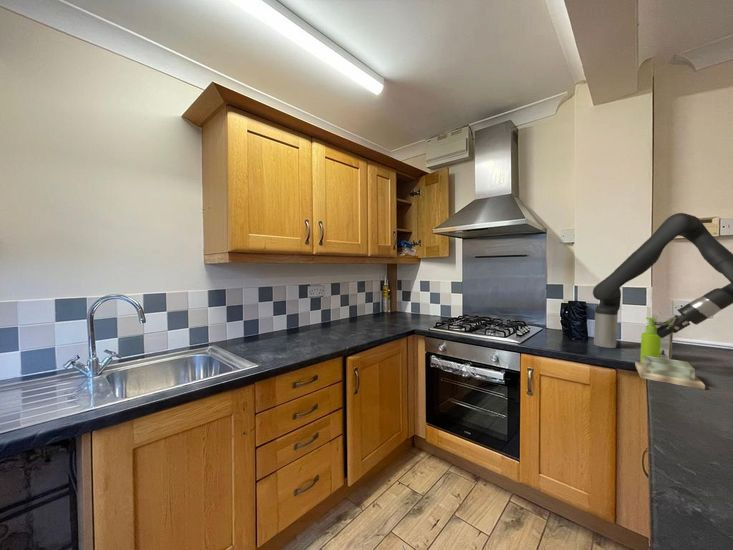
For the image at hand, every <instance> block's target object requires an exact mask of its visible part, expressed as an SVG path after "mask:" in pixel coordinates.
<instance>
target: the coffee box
mask: <svg viewBox="0 0 733 550" xmlns="http://www.w3.org/2000/svg"><path fill="white" fill-rule="evenodd" d="M662 323H663V322H662V321H654V326H656V327H657V328H658V327H660V326H662ZM673 335H674V333H671V334H669V335H667V336H666V337H664V338H661V342H660V358H665V359H672V358H673V340H674V339H673Z"/></svg>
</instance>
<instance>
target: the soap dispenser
mask: <svg viewBox="0 0 733 550" xmlns="http://www.w3.org/2000/svg"><path fill="white" fill-rule="evenodd" d="M645 319H646V320H648V324H646V325H645V332H641V339H640V340H641V341H640V357H639V359H640V361H639V363H642V357H643V355H644V356H651V357H658V358H660V342H661V337H659V336H658V335H657V327H656V326H654V322H657V319H656V318H655V317H647V316H646V317H645Z"/></svg>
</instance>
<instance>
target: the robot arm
mask: <svg viewBox="0 0 733 550" xmlns="http://www.w3.org/2000/svg"><path fill="white" fill-rule="evenodd" d="M677 237H683V238H684V239H686V240H687V241H689V242H690V243H691V244H692V245H694V247H696V248H697V250H698V251H699V254H700V255H701V257H702V258H703V259H704V261H706V262H707V263H708V264H709V265H710V266H711V267H712V268H713V269H714V270H715V271H716V272H718V273H720V274H722V275H723V277H725V278H726V279H727V280H728V281H729V283H728V284H727V285H725V286H723V287H721V288H720V287H718V288H714V289H712V290H710V291H708V292H707V293H705V294H704V295H702V296H700V297H698V298H695V299H694V300H692V301H690V302H689V303H687V304H685V305H683V306H682V307H680V308H679V309H678V310H677V312H678V313H679V314H680V315H676V314H675V315H674V316H673V317H671V318H669V319H667V320H665V321H664V322H663V323H662V326H660V327H658V328H657V335H658V336H659V337H661V338H664V337H666V336H667V335H669V334H671V333H673V334H677V333H678V332H680V331H681V330H683V329H685V328H686V327H688V326H690V325H691V323H692V324H693V325H699V324H701V323H703V322H704V321H707V320H708V319H710V318H711V317H713V316H715V315H716V314H717V313H719V312H721V311H722V310H724V309H726V308H727V307H729V306H731V305H733V253H732V251H730V250H729V249H728V248H727V247H725V246H724V245H723V244H722V243H721V242H720V241H719V240H717V239H716V238H715V237H714V236H713V235H712V233H711V232H710V231H709V230H708V229H707V228H706V226H705V224H704V223H703V222H702V221H701V219H699V217H697V216H696V215H691V214H689V213H685V212H684V213H683V212H678V213H674V214H672V215H671V216H669V217H667V218H666V219H665V220H664V221H663V222H662V223H661V224H660V226H658V228H657V229H656V230H655V232H654V233H653V234H651V236H650V237H649V238H648V239H647V240H645V242H644V243H642V244H641V245H640V246H639V247H638V248H637V249H636V250H635V251H633V252H632V253H631V254H630V256H628V257H627V258H625V260H624V261H623V262H622V263H621V264H620V265H619V266H618V267H617V268H615V269H614V271H613V272H612V273H611V274H610V275H608V276H607V277H606V278H604V279H603V280H602V281H600V282H599V283H597V284H596V285H595V286H594V287H593V290H592V295H593V298H594V299H596V300H599V303H598V304H597V306H596V307H595V309H594V311H595V312H594V327H593V328H594V331H593V332H594V333H593V346H597V347H601V348H606V349H615V348H617V340H618V339H617V336H618V320H619V318H618V315H619V310H620V307H621V302H622V301H621V298H622V291H621V287H623V286H624V285H625V284H626V283H628V282H631V280H634V279H635V278H637V277H640V276H641V275H642V274H644V273H645V272H646V271H648V270H649V269H651V267H653V266H654V265H655V264H656V263H657V262H658V260H659V259H660V257H661V255H662V253H663V251H664V249H665V247H666V246H667V245H668V244H670V242H672V241H673V240H674V239H675V238H677ZM690 322H691V323H690Z"/></svg>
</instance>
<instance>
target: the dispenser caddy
mask: <svg viewBox="0 0 733 550" xmlns="http://www.w3.org/2000/svg"><path fill="white" fill-rule="evenodd" d="M634 365H635V368H636V371H637V373H638V375H639V378H640V379H644V380H649V381H656V382H661V383H662V382H663V383H666V384H667V383H668V384H671V385H672V384H673V385H679V386H685V387H689V388H694V389H699V390H705V389H706V385H705V384H704V382H703V381H701V379H700V378H699V377H698V376H697V375H696V369H695V368H694V367H693V366H692V365H691V364H690V363H689V362H688V361H684V360H679V359H678V360H677V359H672V358H671V359H665V358H658V357H651V356H644V355H643V357H642V363H640V362H637V361H635V362H634Z"/></svg>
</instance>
